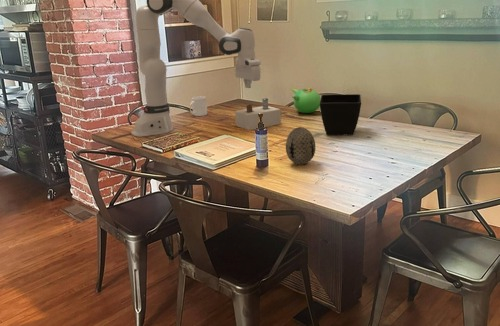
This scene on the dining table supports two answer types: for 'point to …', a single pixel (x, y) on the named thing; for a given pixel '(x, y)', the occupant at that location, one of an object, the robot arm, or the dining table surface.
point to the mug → (199, 106)
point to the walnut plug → (249, 108)
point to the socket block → (251, 119)
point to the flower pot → (340, 113)
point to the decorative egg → (300, 146)
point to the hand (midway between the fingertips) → (247, 87)
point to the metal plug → (265, 103)
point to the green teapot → (306, 100)
